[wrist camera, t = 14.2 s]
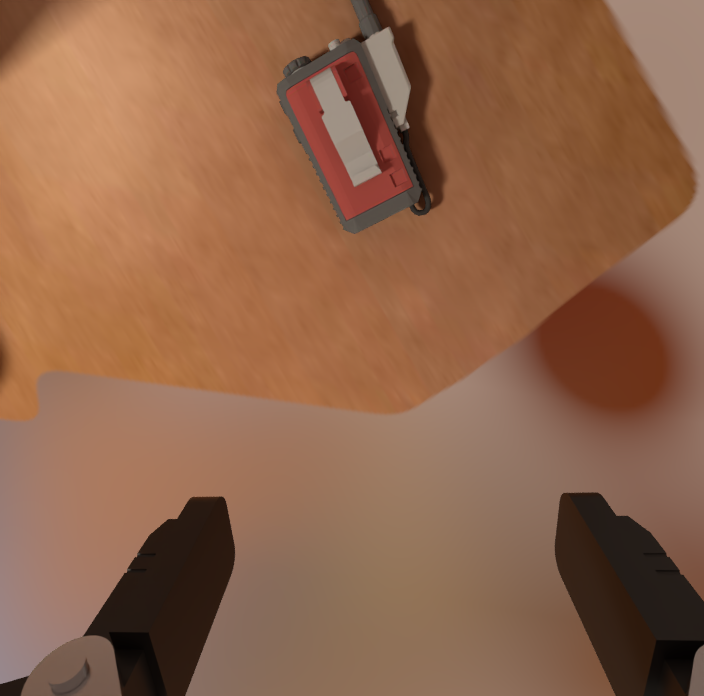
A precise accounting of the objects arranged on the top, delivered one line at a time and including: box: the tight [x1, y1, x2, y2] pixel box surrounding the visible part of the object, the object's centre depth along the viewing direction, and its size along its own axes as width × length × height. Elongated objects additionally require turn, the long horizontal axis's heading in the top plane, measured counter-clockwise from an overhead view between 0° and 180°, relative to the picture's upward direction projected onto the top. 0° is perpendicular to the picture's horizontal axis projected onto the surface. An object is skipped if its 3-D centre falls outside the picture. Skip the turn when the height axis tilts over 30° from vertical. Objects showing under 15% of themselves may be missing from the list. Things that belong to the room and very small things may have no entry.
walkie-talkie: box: [277, 0, 431, 234], centre depth 31 cm, size 9×4×20 cm
